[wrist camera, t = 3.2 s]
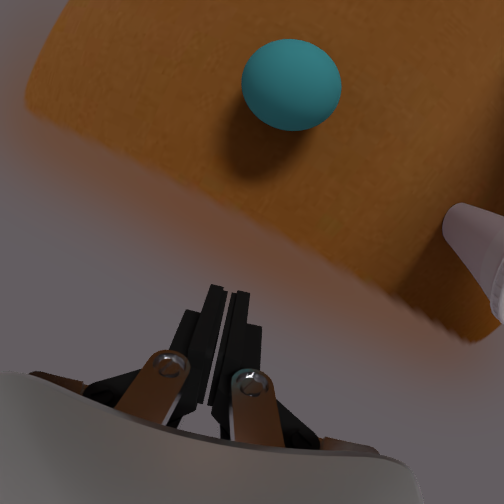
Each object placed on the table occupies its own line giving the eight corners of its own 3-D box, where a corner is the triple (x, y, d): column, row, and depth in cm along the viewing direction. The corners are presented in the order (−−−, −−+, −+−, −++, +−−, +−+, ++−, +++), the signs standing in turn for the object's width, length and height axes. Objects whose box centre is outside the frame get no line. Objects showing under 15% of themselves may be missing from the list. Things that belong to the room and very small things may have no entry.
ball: (339, 65, 15) (361, 45, 10) (320, 140, 17) (337, 145, 12) (257, 45, 15) (249, 16, 10) (238, 120, 17) (223, 117, 12)
